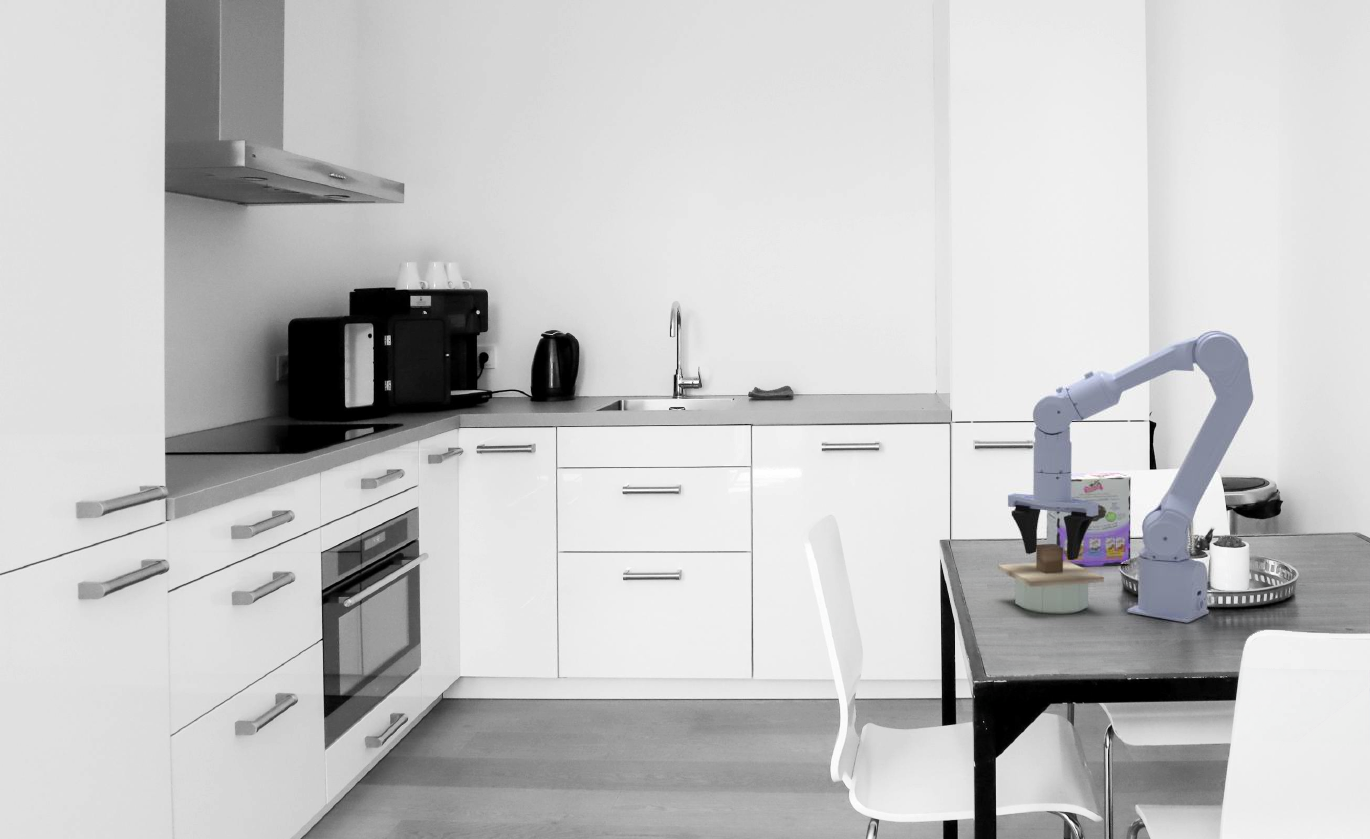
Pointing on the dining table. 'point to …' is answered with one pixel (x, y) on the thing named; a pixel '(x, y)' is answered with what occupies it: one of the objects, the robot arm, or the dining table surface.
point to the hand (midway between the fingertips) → (1051, 555)
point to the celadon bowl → (1052, 597)
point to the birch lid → (1050, 569)
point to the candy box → (1098, 520)
